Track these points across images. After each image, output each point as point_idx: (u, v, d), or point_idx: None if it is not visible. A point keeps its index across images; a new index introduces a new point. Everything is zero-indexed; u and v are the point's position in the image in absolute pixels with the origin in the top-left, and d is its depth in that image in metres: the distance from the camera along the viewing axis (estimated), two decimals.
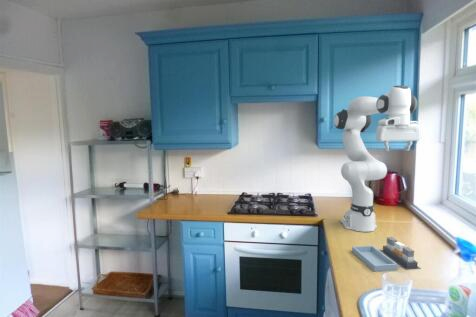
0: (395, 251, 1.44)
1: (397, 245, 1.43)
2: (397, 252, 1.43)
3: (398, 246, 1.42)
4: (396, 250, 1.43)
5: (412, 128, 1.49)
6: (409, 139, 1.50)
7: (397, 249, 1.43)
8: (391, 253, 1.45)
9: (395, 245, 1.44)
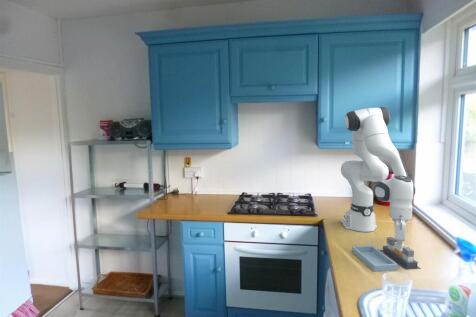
0: (395, 251, 1.44)
1: None
2: (397, 252, 1.43)
3: None
4: (396, 250, 1.43)
5: None
6: None
7: (397, 249, 1.43)
8: (391, 253, 1.45)
9: (395, 245, 1.44)
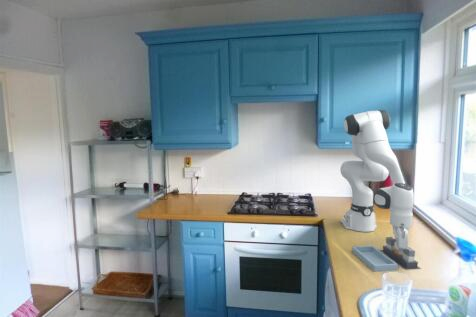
0: (395, 251, 1.44)
1: (397, 245, 1.43)
2: (397, 252, 1.43)
3: None
4: (396, 250, 1.43)
5: (398, 232, 1.37)
6: None
7: (397, 249, 1.43)
8: (391, 253, 1.45)
9: (395, 245, 1.44)
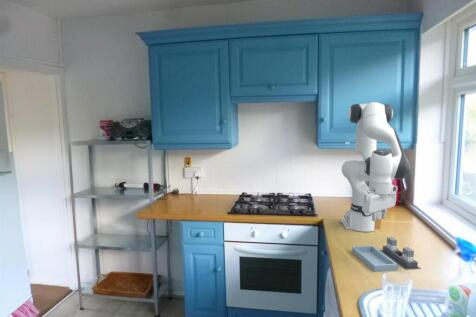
0: None
1: None
2: None
3: None
4: None
5: None
6: None
7: None
8: (391, 253, 1.45)
9: None
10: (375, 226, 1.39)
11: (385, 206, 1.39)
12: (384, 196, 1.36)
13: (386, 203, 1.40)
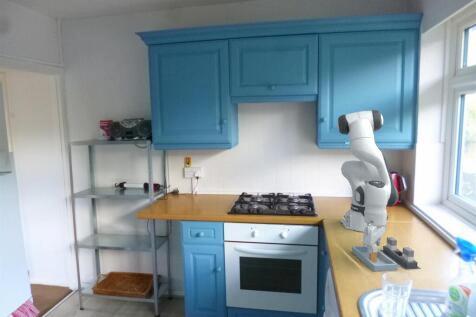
0: None
1: None
2: (370, 253, 1.42)
3: None
4: None
5: None
6: None
7: None
8: (391, 253, 1.45)
9: None
10: (372, 259, 1.41)
11: (380, 235, 1.41)
12: (381, 227, 1.38)
13: (380, 232, 1.42)
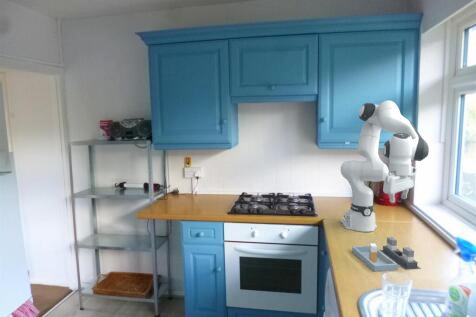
0: (369, 252, 1.44)
1: (370, 246, 1.42)
2: (370, 253, 1.42)
3: (370, 247, 1.41)
4: (370, 251, 1.43)
5: None
6: None
7: (370, 249, 1.42)
8: (391, 253, 1.45)
9: None
10: (371, 259, 1.41)
11: (405, 187, 1.45)
12: (404, 177, 1.41)
13: (406, 184, 1.45)
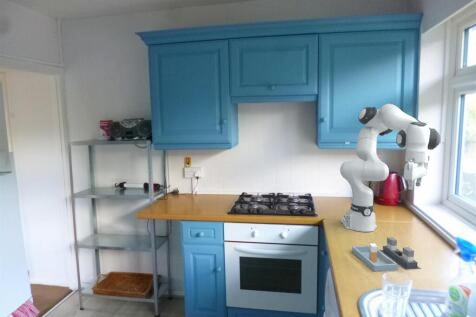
0: (369, 252, 1.44)
1: (370, 246, 1.42)
2: (370, 253, 1.42)
3: (370, 247, 1.41)
4: (370, 251, 1.43)
5: None
6: None
7: (370, 249, 1.42)
8: (391, 253, 1.45)
9: None
10: (371, 259, 1.41)
11: (421, 174, 1.48)
12: (422, 165, 1.45)
13: (421, 172, 1.49)
